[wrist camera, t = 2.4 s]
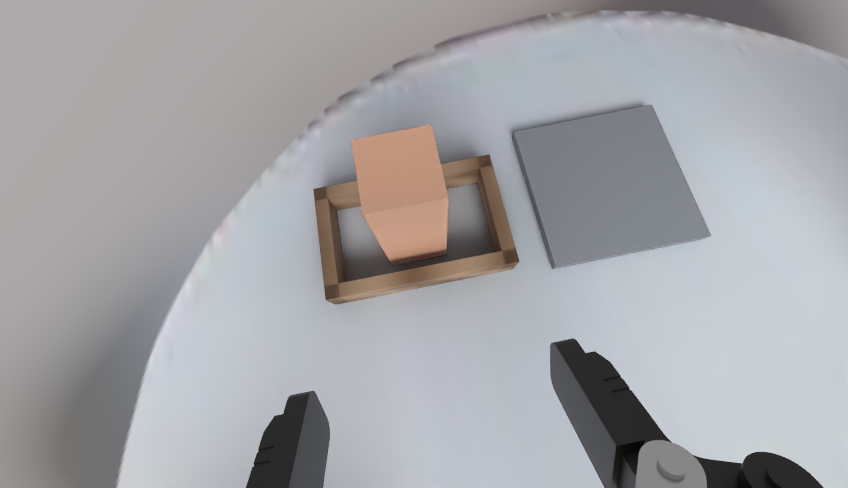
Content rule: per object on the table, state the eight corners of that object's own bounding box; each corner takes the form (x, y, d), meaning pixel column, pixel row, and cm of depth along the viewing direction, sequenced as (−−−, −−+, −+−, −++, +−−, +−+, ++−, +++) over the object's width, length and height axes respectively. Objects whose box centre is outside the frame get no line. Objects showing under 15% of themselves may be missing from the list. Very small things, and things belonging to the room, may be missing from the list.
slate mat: (646, 110, 31) (651, 104, 31) (703, 238, 28) (710, 235, 27) (512, 137, 31) (513, 131, 30) (552, 268, 28) (555, 266, 27)
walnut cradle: (485, 169, 30) (489, 154, 28) (512, 269, 28) (519, 261, 25) (323, 201, 30) (313, 189, 28) (335, 304, 28) (325, 300, 25)
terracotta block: (435, 204, 30) (431, 124, 19) (446, 254, 28) (448, 197, 18) (383, 214, 30) (351, 139, 19) (392, 265, 28) (362, 214, 18)
